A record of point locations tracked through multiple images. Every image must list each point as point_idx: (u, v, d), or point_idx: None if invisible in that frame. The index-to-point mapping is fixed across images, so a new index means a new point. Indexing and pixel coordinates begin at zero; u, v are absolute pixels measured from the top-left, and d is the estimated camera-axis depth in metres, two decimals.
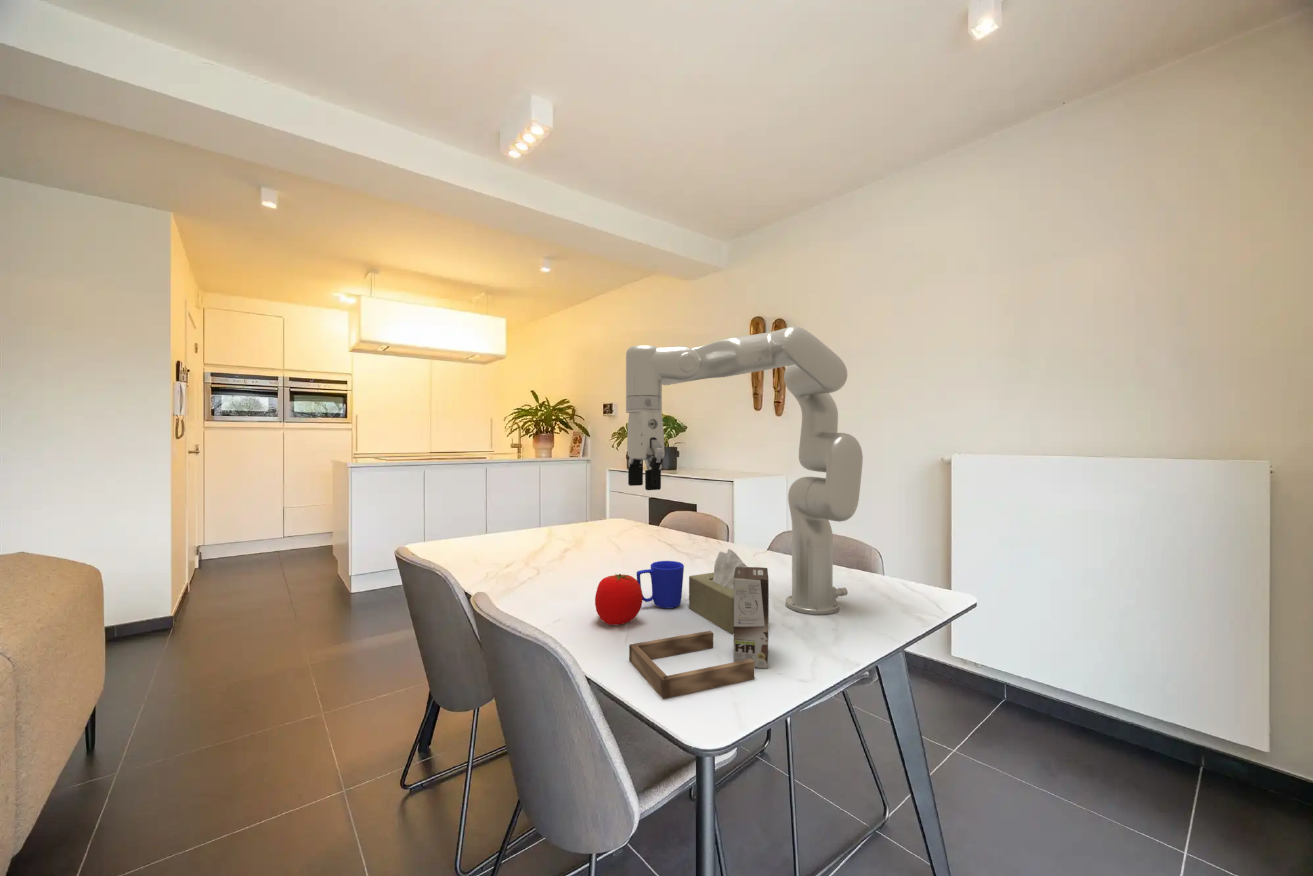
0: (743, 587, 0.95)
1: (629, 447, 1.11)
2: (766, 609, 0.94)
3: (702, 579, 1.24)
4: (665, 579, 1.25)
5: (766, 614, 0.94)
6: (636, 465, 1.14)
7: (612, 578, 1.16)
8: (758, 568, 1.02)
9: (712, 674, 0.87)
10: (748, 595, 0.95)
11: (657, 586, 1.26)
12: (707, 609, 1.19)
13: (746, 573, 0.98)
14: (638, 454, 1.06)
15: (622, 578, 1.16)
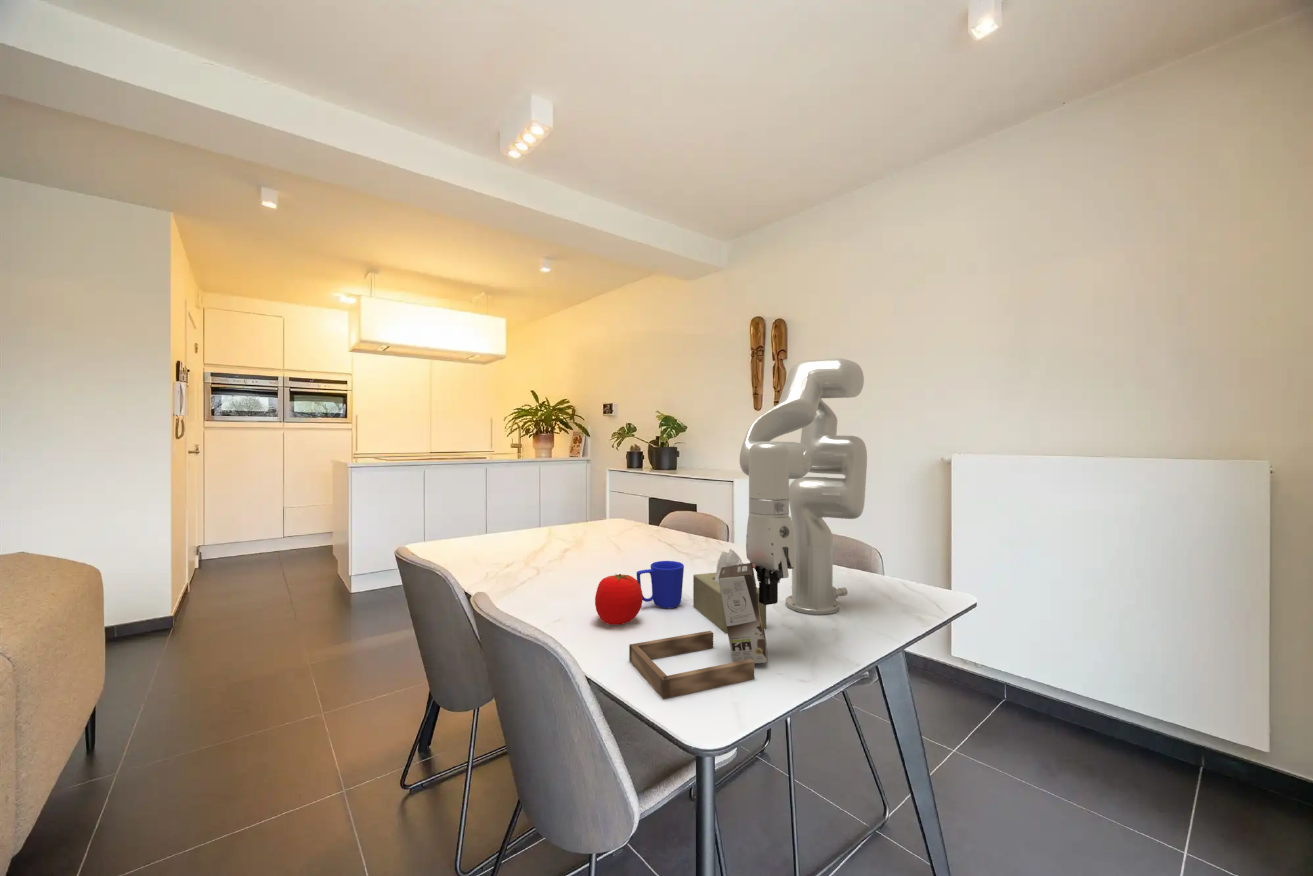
0: (729, 586, 0.95)
1: (750, 551, 1.02)
2: (755, 603, 0.94)
3: (705, 578, 1.24)
4: (665, 579, 1.25)
5: (756, 608, 0.94)
6: None
7: (612, 578, 1.16)
8: (743, 564, 1.02)
9: (712, 674, 0.87)
10: (735, 593, 0.95)
11: (657, 586, 1.26)
12: (707, 608, 1.19)
13: (731, 571, 0.99)
14: (766, 563, 0.97)
15: (622, 578, 1.16)
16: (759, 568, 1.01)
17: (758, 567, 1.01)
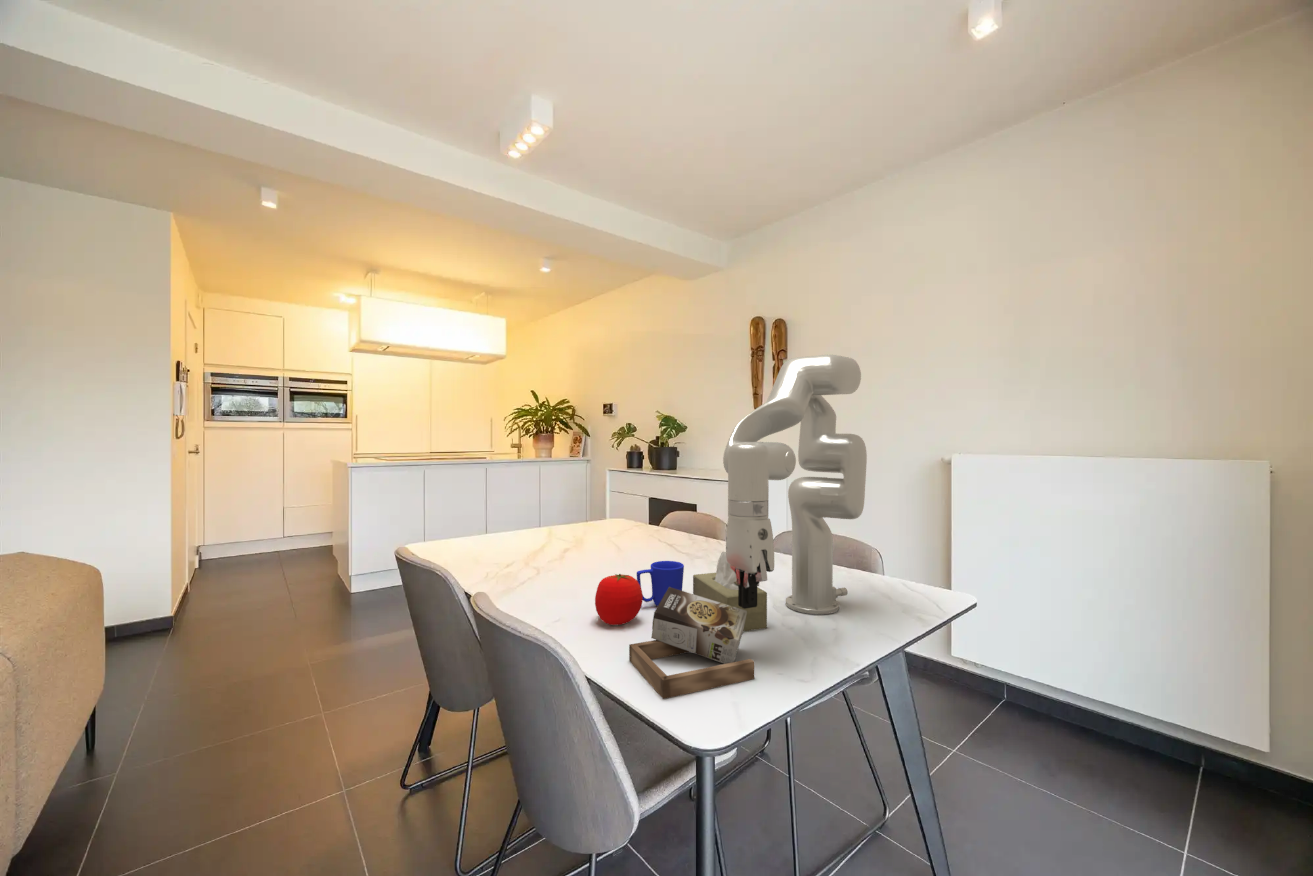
0: (659, 633, 0.98)
1: (730, 553, 1.00)
2: (681, 622, 0.96)
3: (705, 578, 1.24)
4: (665, 579, 1.25)
5: (686, 623, 0.95)
6: None
7: (612, 578, 1.16)
8: None
9: (712, 674, 0.87)
10: (667, 632, 0.97)
11: (657, 586, 1.26)
12: None
13: None
14: (745, 566, 0.95)
15: (622, 578, 1.16)
16: (738, 571, 0.99)
17: (737, 570, 0.99)
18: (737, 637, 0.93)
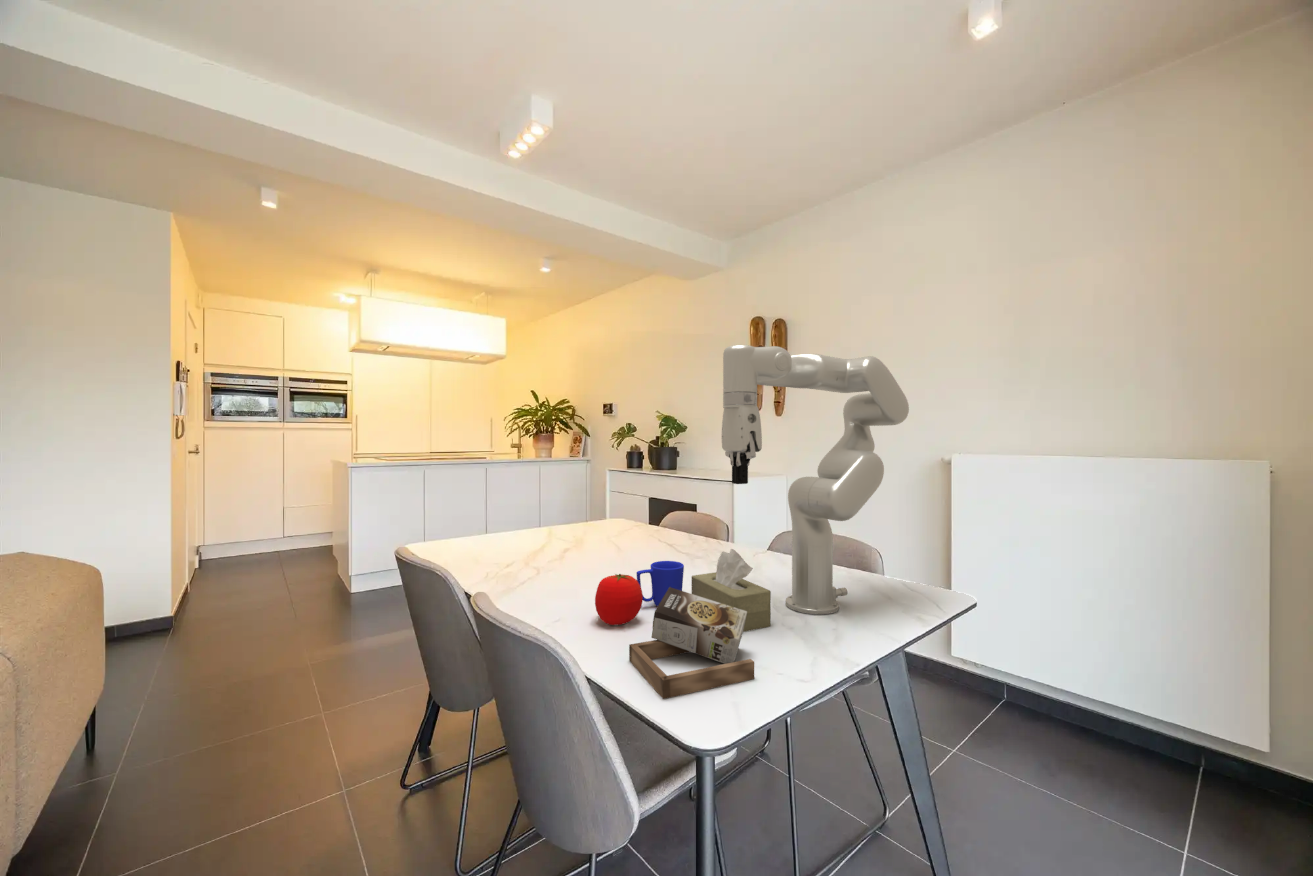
0: (660, 633, 0.98)
1: (725, 440, 1.18)
2: (682, 621, 0.96)
3: (705, 578, 1.24)
4: (665, 579, 1.25)
5: (686, 623, 0.95)
6: None
7: (612, 578, 1.16)
8: None
9: (712, 674, 0.87)
10: (667, 631, 0.97)
11: (657, 586, 1.26)
12: None
13: None
14: (737, 446, 1.14)
15: (622, 578, 1.16)
16: (732, 454, 1.17)
17: (731, 453, 1.18)
18: (737, 636, 0.93)
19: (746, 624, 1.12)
